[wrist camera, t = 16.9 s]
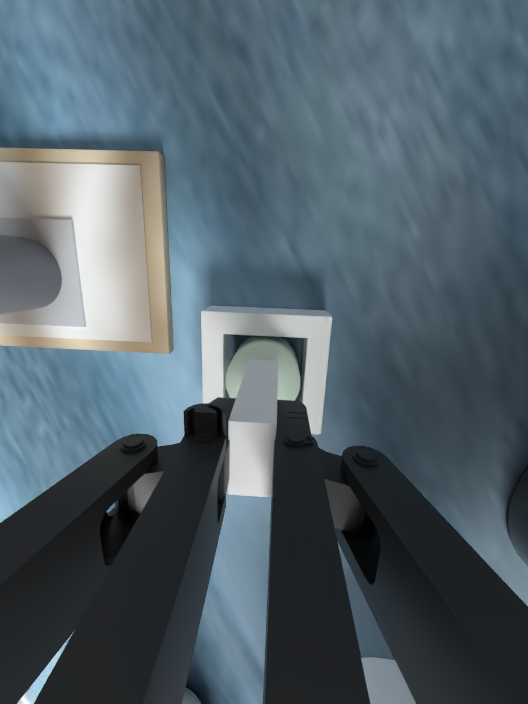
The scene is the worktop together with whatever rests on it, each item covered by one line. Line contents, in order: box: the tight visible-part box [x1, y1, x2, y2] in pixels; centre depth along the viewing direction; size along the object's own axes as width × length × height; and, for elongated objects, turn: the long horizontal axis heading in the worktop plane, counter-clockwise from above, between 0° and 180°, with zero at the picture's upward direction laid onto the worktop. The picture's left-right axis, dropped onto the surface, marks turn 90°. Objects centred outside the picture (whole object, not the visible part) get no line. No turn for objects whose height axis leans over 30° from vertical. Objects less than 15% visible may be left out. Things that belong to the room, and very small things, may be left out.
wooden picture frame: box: [0, 148, 173, 354], centre depth 18 cm, size 16×11×1 cm
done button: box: [225, 335, 300, 401], centre depth 18 cm, size 4×4×3 cm
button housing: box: [201, 305, 332, 435], centre depth 18 cm, size 7×7×2 cm
